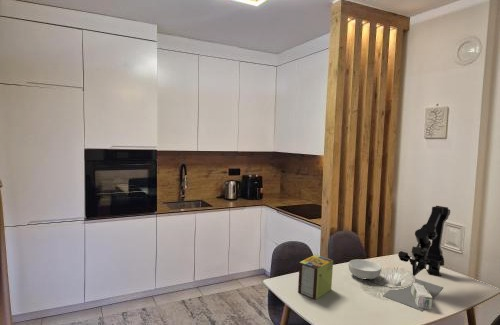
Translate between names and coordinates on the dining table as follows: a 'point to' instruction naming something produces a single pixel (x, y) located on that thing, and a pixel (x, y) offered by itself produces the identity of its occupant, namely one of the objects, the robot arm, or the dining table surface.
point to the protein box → (315, 276)
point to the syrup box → (421, 295)
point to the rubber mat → (406, 296)
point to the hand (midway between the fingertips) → (413, 275)
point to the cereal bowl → (364, 269)
